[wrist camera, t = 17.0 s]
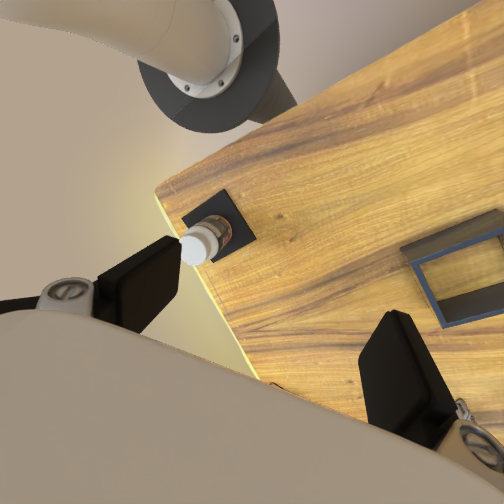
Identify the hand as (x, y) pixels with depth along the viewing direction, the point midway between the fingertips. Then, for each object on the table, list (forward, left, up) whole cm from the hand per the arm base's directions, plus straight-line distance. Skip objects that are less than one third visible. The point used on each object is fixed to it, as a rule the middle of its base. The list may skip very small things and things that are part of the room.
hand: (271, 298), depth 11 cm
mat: (-2, -16, -30) cm, 34 cm away
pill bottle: (-2, -16, -29) cm, 34 cm away
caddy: (+21, +14, -30) cm, 39 cm away
